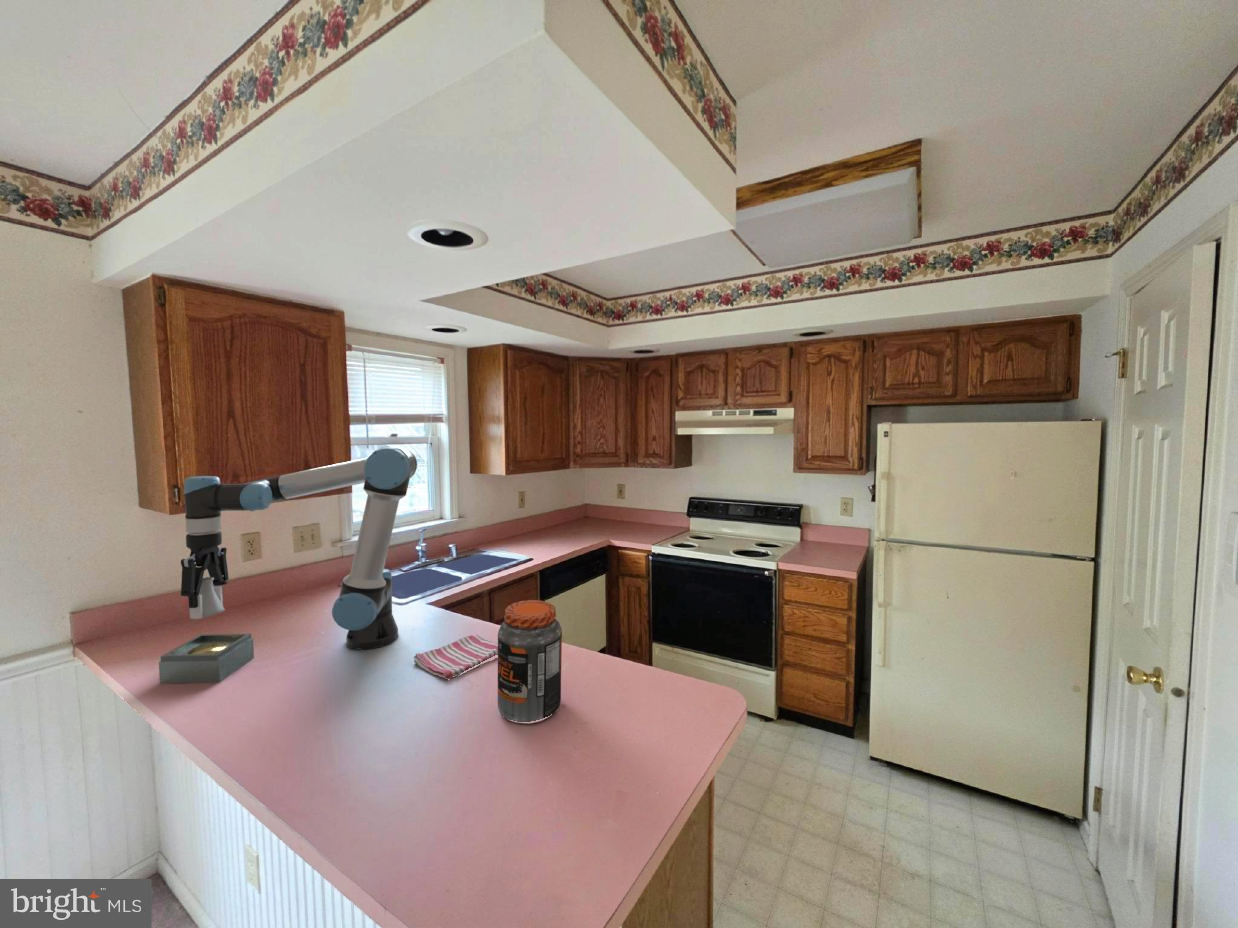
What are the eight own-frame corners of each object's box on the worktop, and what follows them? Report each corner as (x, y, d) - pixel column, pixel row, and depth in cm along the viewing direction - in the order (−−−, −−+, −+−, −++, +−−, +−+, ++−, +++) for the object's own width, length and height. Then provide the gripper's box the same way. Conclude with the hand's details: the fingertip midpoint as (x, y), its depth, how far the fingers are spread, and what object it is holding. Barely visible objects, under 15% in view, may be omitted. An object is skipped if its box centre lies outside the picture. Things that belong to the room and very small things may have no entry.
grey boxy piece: (253, 657, 145) (253, 633, 145) (219, 682, 131) (218, 655, 131) (200, 658, 144) (198, 634, 143) (159, 683, 130) (158, 656, 130)
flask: (204, 619, 132) (203, 583, 132) (183, 617, 134) (181, 581, 133) (230, 610, 139) (229, 575, 139) (210, 607, 141) (208, 573, 140)
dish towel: (411, 665, 144) (411, 654, 144) (476, 638, 163) (476, 628, 162) (445, 684, 134) (445, 672, 134) (511, 653, 153) (511, 643, 152)
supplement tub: (486, 705, 124) (486, 605, 122) (540, 685, 134) (541, 592, 132) (516, 736, 111) (517, 626, 110) (573, 711, 122) (575, 610, 120)
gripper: (215, 524, 144) (218, 600, 146) (158, 540, 125) (162, 627, 126) (242, 525, 145) (245, 600, 147) (190, 540, 125) (193, 627, 127)
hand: (207, 612), depth 137 cm, fingers closed on flask, 7 cm apart
